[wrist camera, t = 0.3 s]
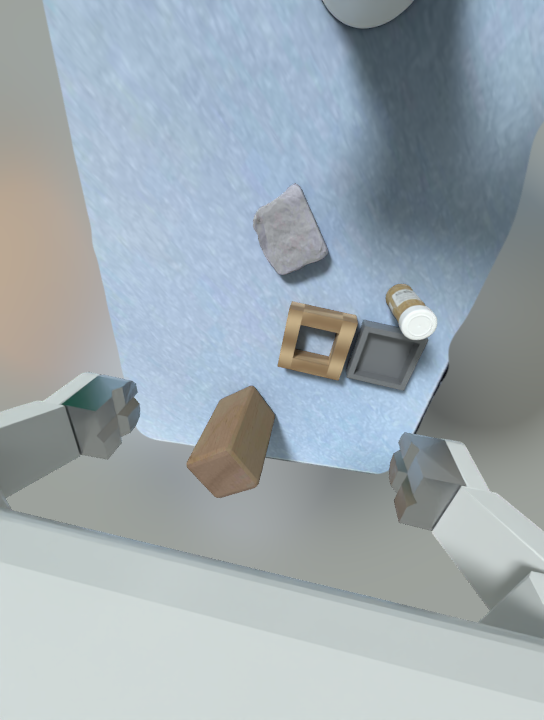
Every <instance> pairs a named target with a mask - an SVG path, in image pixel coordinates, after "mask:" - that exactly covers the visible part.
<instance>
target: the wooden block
mask: <svg viewBox="0 0 544 720" xmlns="http://www.w3.org/2000/svg"><path fill="white" fill-rule="evenodd" d="M274 419H275V416H274V413H273V412H272V410H271V409H270V407H269V406H268V405H267V403H266V402H265V401H264V399H263V398H262V397H261V395H260V394H259V393H258V391H257V390H256V388H255V387H254V386H249V387H247V388H245V389H242V390H240V391H238V392H236V393H234V394H232V395H229V396H227V397H225V398H223V399H221V400H220V401H219V403H218V405H217V407H216V408H215V410H214V412H213V414H212V416H211V418H210V420H209V422H208V424H207V425H206V427H205V429H204V431H203V433H202V435H201V437H200V439H199V440H198V442H197V444H196V446H195V448H194V450H193V452H192V454H191V456H190V457H189V459H188V461H187V468H188V469H189V470H190V471H191V472H192V473H193V474H194V475H195V476H196V477H197V479H198V480H199V481H200V482H201V483H202V484H203V485H204V486H205V487H206V488H207V489H208V490H209V491H210V492H211V493H212V494H213V495H214V496H215V497H217V498H222V497H225V496H229V495H232V494H235V493H239V492H242V491H246V490H249V489H252V488H255V487H256V486H257V485H258V484H259V480H260V476H261V472H262V468H263V464H264V460H265V456H266V452H267V448H268V444H269V439H270V435H271V431H272V427H273V423H274Z"/></svg>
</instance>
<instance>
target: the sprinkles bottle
mask: <svg viewBox="0 0 544 720" xmlns="http://www.w3.org/2000/svg"><path fill="white" fill-rule="evenodd" d="M386 303H387V304H388V306H389V307H390V309H391V311H392V313H393V315H394V316H395V318H396V319H397V321H398V323H399V327H400V330H401V331H402V333H403V334H404V335H405V336H406V337H407V338H409V339H411V340H422V339H425V338H427V337H429V336H430V335H431V334H432V333H433V332H434V331H435V329H436V327H437V318H436V316H435V314H434V313H433V312H432V311H431V309H429V308H428V307H426V306H425V304H424V303H423V302H422V300H421V299H420V298H419V297H418V296H417V295H416V294H415V293H414V292H413V290H412V289H411V287H410V286H408V285H406V284H397V285H395V286H393V287H392V288H390V289H389V291H388V292H387V294H386Z"/></svg>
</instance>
